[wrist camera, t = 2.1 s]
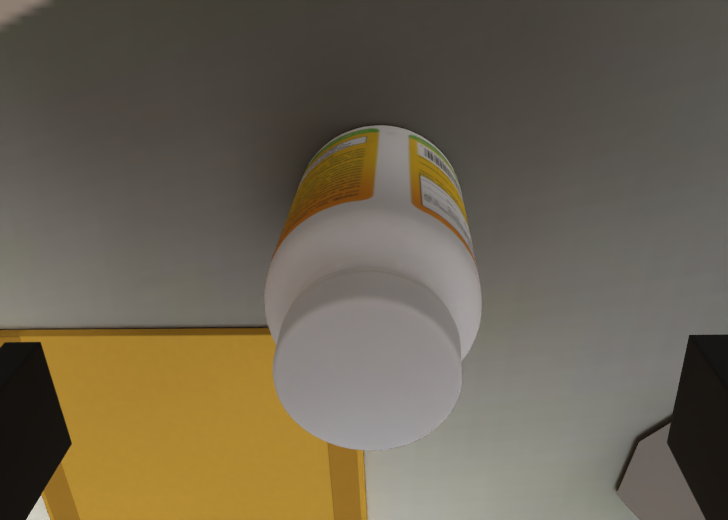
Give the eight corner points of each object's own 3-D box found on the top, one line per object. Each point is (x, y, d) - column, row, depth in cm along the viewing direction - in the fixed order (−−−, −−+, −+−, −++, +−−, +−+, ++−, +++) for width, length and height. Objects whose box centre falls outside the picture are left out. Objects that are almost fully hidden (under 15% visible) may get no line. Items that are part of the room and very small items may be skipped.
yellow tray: (-10, 329, 26) (-17, 337, 25) (356, 326, 25) (355, 335, 25) (87, 603, 33) (82, 613, 33) (372, 608, 32) (372, 618, 32)
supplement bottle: (289, 256, 24) (226, 456, 15) (311, 106, 21) (249, 243, 13) (440, 283, 24) (462, 495, 15) (479, 138, 22) (530, 295, 13)
